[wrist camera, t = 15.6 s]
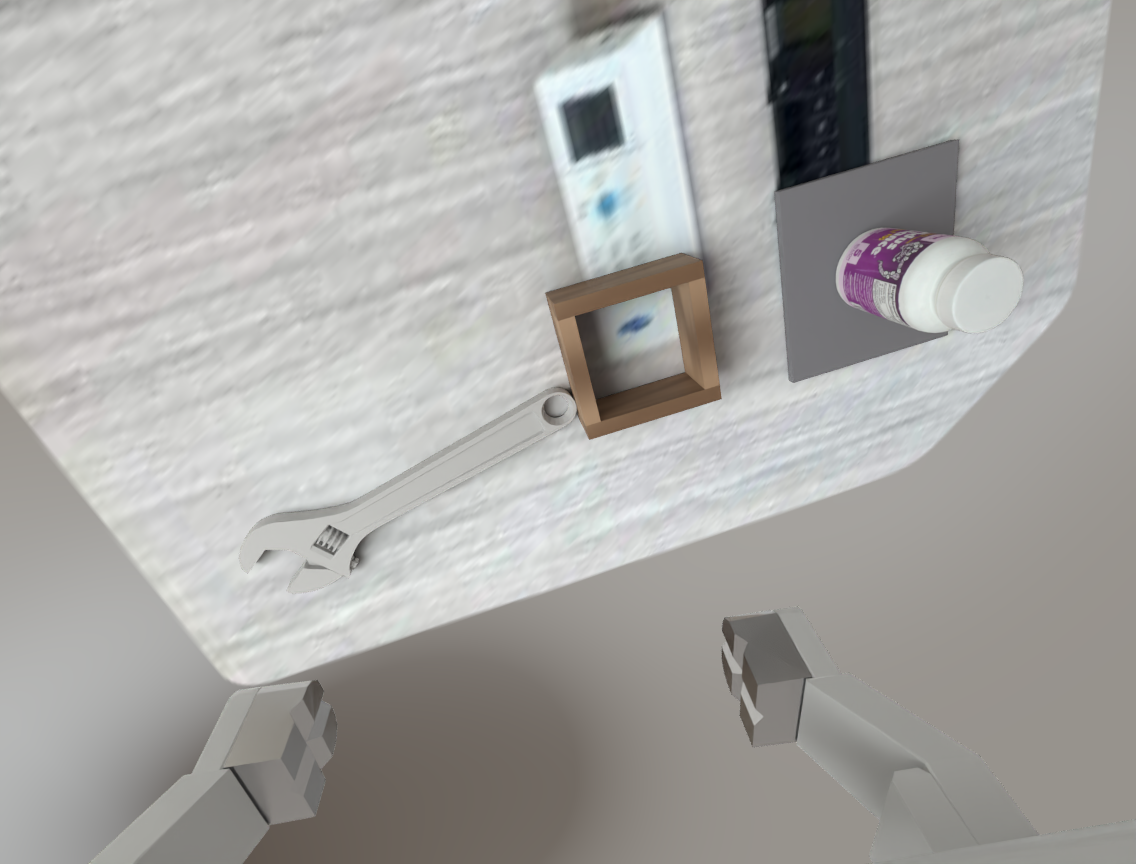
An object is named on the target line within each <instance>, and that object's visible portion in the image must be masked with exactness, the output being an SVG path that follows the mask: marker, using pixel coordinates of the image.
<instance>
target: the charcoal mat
mask: <svg viewBox="0 0 1136 864" xmlns="http://www.w3.org/2000/svg"><path fill="white" fill-rule="evenodd" d="M958 148H959V140H950V141H947V142H943V143H940V144H936V145H933V146H930V147H926V148H923V149H919V150H916V151H912V152H909V153H906V154H902V155H899V156H895V157H892V158H888V159H885V160H882V161H878V162H875V163H871V164H868V165H864V166H861V167H858V168H854V169H851V170H847V171H844V172H840V173H837V174H834V175H830V176H827V177H823V178H820V179H816V180H813V181H810V182H806V183H803V184H799V185H796V186H792V187H789V188H786V189H782V190H779V191H775V205H776V218H777V231H778V244H779V257H780V270H781V283H782V296H783V308H784V321H785V334H786V347H787V360H788V373H789V380H790V381H791V382H793V383H795V382H798V381H801V380H804V379H808V378H811V377H814V376H817V375H820V374H824V373H827V372H830V371H833V370H837V369H840V368H843V367H846V366H849V365H853V364H856V363H859V362H862V361H866V360H869V359H872V358H875V357H878V356H882V355H885V354H888V353H891V352H895V351H898V350H901V349H904V348H907V347H911V346H914V345H917V344H920V343H924V342H927V341H930V340H933V339H936V338H940V337H943V336H946V335H948V331H946V332H940V333H928V332H923V331H918V330H916V329H913V328H910V327H907V326H905V325H902V324H899V323H896V322H893V321H890V320H888V319H885V318H882V317H879V316H876V315H874V314H871V313H868V312H865V311H862V310H860V309H857V308H854V307H852V306H850V305H848V304H847V303H846V302H845V301H844V300H843V299H842V298H841V296H840V295H839V293H838V290H837V287H836V270H837V266H838V262H839V260H840V258H841V256H842V254H843V252H844V251H845V249H846V248H847V247H848V245H849V244H850V243H851V242H852V241H853V240H854V239H855V238H857V237H858V236H859V235H861V234H862V233H865V232H867V231H869V230H872V229H876V228H894V229H902V230H913V231H920V232H928V233H936V234H945V235H952V236H953V234H954V217H955V200H956V182H957V165H958Z"/></svg>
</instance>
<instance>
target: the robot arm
mask: <svg viewBox="0 0 1136 864" xmlns="http://www.w3.org/2000/svg"><path fill="white" fill-rule="evenodd" d="M722 624H723V625H722V632H723V634H724V637H725V639H726V642H725V643H724V644H723V645H722V664H723V670H724V674H725V678H726V681H727V684H728V687H729V689H730V692H731V695H733V696H734V697H735V698H737V699H738V700H739V701H740V718H741V720H742V722H743V725H744V727H745V730H746V732H747V735H748V737H749V740H750V742H751V745H752V747H759V746H768V745H775V744H783V743H791V742H797V745H798V746H799V747H800V748H801V749H802V750H803V751H804V752H806V753H807V754H808V755H809V756H810V757H811V758H812V759H813V760H814V761H815V762H816V763H817V764H818V765H820V766H821V767H822V768H823V769H824V770H825V771H826V772H827V773H828V774H829V775H830V776H832V777H833V778H834V779H835V780H836V781H837V782H838V783H839V784H840V785H841V786H843V787H844V788H845V789H846V790H847V791H848V792H849V793H850V794H851V795H852V796H853V797H854V798H856V799H857V800H858V801H859V802H860V803H861V804H862V805H863V806H864V807H865V808H866V809H868V810H869V811H870V812H871V813H872V814H873V815H874V816H875V817H876V818H877V819H879V820H880V822H879V825H878V828H877V831H876V835H875V838H874V842H873V845H872V848H871V851H870V855H869V857H870V859H871V861H872V863H869V864H1136V819H1135V820H1128V821H1122V822H1116V823H1110V824H1104V825H1098V826H1092V827H1086V828H1080V829H1073V830H1067V831H1061V832H1055V833H1049V834H1043V835H1039V833H1038V832H1037V831H1036V829H1035V828H1034V827H1033V825H1032V824H1031V823H1030V821H1029V820H1028V819H1027V817H1026V816H1025V815H1024V813H1023V812H1022V811H1021V810H1020V808H1019V807H1018V806H1017V804H1016V803H1015V801H1014V800H1013V799H1012V797H1011V796H1010V795H1009V793H1008V792H1007V791H1006V790H1005V788H1004V787H1003V786H1002V784H1001V783H1000V782H999V780H998V779H997V778H996V776H995V775H994V774H993V772H992V771H991V770H990V768H989V767H988V766H987V764H986V763H985V762H984V760H983V759H982V758H981V756H980V755H978V754H976V753H975V752H973V751H972V750H970V749H969V748H967V747H965V746H964V745H962V744H961V743H959V742H958V741H956V740H954V739H953V738H951V737H950V736H948V735H947V734H945V733H943V732H942V731H940V730H939V729H937V728H935V727H934V726H933V725H931V724H929V723H928V722H926V721H925V720H923V719H921V718H920V717H918V716H917V715H915V714H913V713H912V712H910V711H909V710H907V709H906V708H904V707H903V706H901V705H899V704H898V703H896V702H895V701H893V700H892V699H890V698H888V697H887V696H885V695H884V694H882V693H881V692H879V691H877V690H876V689H874V688H873V687H871V686H870V685H868V684H867V683H865V682H863V681H862V680H860V679H859V678H857V677H856V676H854V675H852V674H851V673H841V671H840V670H839V668H838V666H837V665H836V664H835V662H834V660H833V658H832V657H831V655H830V654H829V652H828V650H827V649H826V647H825V646H824V644H823V643H822V641H821V639H820V638H819V636H818V634H817V633H816V632H815V630H814V628H813V626H812V625H811V623H810V621H809V620H808V618H807V617H806V615H805V614H804V612H803V610H802V609H800V608H799V607H798V606H797V607H790V608H784V609H777V610H773V611H771V610H768V611H762V612H756V613H750V614H743V615H738V616H732V617H725V618H724V620H723V623H722ZM323 693H324V690H323V688H322V686H321V684H320V683H319V681H318V680H312V681H305V682H296V683H288V684H281V685H272V686H264V687H258V688H250V689H243V690H237V691H236V692H235V693H234V694H233V695H232V696H231V697H230V698H229V700H228V702H227V704H226V706H225V708H224V710H223V712H222V714H221V716H220V718H219V720H218V722H217V724H216V726H215V728H214V730H213V732H212V734H211V736H210V738H209V740H208V742H207V744H206V746H205V748H204V750H203V752H202V754H201V756H200V758H199V760H198V762H197V764H196V766H195V768H194V770H193V772H192V774H189V775H184V776H182V778H180V779H179V780H178V781H177V782H176V783H175V784H174V785H173V786H172V787H171V788H169V789H168V790H167V791H166V792H165V793H164V794H163V795H162V796H161V797H160V798H159V799H158V800H156V801H155V802H154V803H153V804H152V805H151V806H150V807H149V808H148V809H147V810H146V811H145V812H144V813H142V814H141V815H140V816H139V817H138V818H137V819H136V820H135V821H134V822H133V823H132V824H131V825H130V826H128V827H127V828H126V829H125V830H124V831H123V832H122V833H121V834H120V835H119V836H118V837H117V838H115V839H114V840H113V841H112V842H111V843H110V844H109V845H108V846H107V847H106V848H105V849H103V850H102V851H101V852H100V853H99V854H98V855H97V856H96V857H95V858H94V859H93V860H92V861H90V862H89V863H88V864H243V862H244V861H245V860H246V858H247V857H248V856H249V854H250V853H251V851H252V850H253V849H254V848H255V847H256V845H257V844H258V843H259V841H260V840H261V838H262V837H263V836H264V834H265V833H266V832H267V831H268V829H269V826H268V825H272V824H278V823H283V822H288V821H293V820H299V819H304V818H310V817H315V815H316V812H317V809H318V805H319V802H320V798H321V795H322V791H323V788H324V784H325V780H326V779H325V777H324V775H323V773H322V771H321V769H322V767H323V766H324V765H325V764H326V763H327V762H328V761H329V760H330V758H331V757H332V756H333V752H334V748H335V744H336V737H337V721H336V716H335V713H334V710H333V708H332V706H331V705H329V704H327V703H325V702H324V701H322V696H323Z"/></svg>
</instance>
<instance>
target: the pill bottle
mask: <svg viewBox="0 0 1136 864" xmlns="http://www.w3.org/2000/svg"><path fill="white" fill-rule="evenodd" d="M836 287H837V290H838V293H839V295H840V296H841V298H842V299H843V300H844V301H845V302H846V303H847V304H848V305H850V306H852V307H854V308H857V309H860V310H862V311H865V312H868V313H871V314H874V315H876V316H879V317H882V318H885V319H888V320H890V321H893V322H896V323H899V324H902V325H905V326H907V327H910V328H913V329H916V330H918V331H923V332H928V333H940V332H946V331H949V330H952V329H955V330H959V331H963V332H967V333H973V334H977V333H983V332H986V331H989V330H991V329H993V328H995V327H997V326H998V325H999V324H1001V323H1002V322H1003V321H1004V320H1005V319H1006V318H1007V317H1008V316H1009V315H1010V314H1011V313H1012V311H1013V310H1014V308H1015V307H1016V305H1017V304H1018V302H1019V299H1020V297H1021V294H1022V290H1023V274H1022V270H1021V269H1020V267H1019V265H1018V264H1017V263H1016V262H1015V261H1013V260H1012V259H1009V258H1006V257H1002V256H997V255H992V254H990V253H989V251H988V250H987V249H986V248H985V247H984V246H983V245H982V244H981V243H979V242H977V241H975V240H973V239H970V238H966V237H960V236H952V235H945V234H936V233H928V232H920V231H913V230H902V229H894V228H876V229H872V230H869V231H867V232H865V233H862V234H861V235H859V236H858V237H857V238H855V239H854V240H853V241H852V242H851V243H850V244H849V245H848V247H847V248H846V249H845V251H844V252H843V254H842V256H841V258H840V260H839V262H838V266H837V270H836Z"/></svg>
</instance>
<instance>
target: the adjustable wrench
mask: <svg viewBox="0 0 1136 864" xmlns="http://www.w3.org/2000/svg"><path fill="white" fill-rule="evenodd" d="M554 395H559V396H562V397H564V398H565V399H566V400H567V403H568V409H567V411H566V413H565V414H564V415H562V416H560V417H558V418H553V417H550V416H548V415H547V414H546V413H545V410H544V404H545V402H546V400H547V399H548V398H550V397H552V396H554ZM576 412H577V406H576V403H575V401H574V399H573V397H572V395H571V394H570V393H569V392H568V391H567V390H565V389H563V388H559V387H554V388H550V389H547V390H545V391H543V392H542V393H540V394H538V395H537V396H535V397H533V398H531V399H530V400H528V401H526V402H524V403H523V404H521V405H519V406H518V407H516V408H514V409H512V410H511V411H509V412H507V413H505V414H504V415H502V416H500V417H499V418H497V419H495V420H493V421H492V422H490V423H488V424H486V425H485V426H483V427H481V428H479V429H478V430H476V431H474V432H473V433H471V434H469V435H467V436H466V437H464V438H462V439H460V440H459V441H457V442H455V443H454V444H452V445H450V446H448V447H447V448H445V449H443V450H441V451H440V452H438V453H436V454H435V455H433V456H431V457H429V458H428V459H426V460H424V461H422V462H421V463H419V464H417V465H416V466H414V467H412V468H410V469H409V470H407V471H405V472H403V473H402V474H400V475H398V476H397V477H395V478H393V479H391V480H390V481H388V482H386V483H384V484H383V485H381V486H379V487H378V488H376V489H374V490H372V491H371V492H369V493H367V494H365V495H364V496H362V497H360V498H358V499H356V500H354V501H352V502H350V503H346V504H343V505H339V506H335V507H329V508H324V509H318V510H310V511H300V512H287V513H278V514H274V515H270V516H268V517H266V518H263V519H261V520H260V521H259V522H257V523H256V524H255V525H254V526H253V527H252V529H251V530H250V531H249V533H248V535H247V536H246V538H245V540H244V542H243V544H242V546H241V549H240V554H239V561H240V565H241V569H242V570H243V571H244V572H246V573H247V574H248V573H249V571H250V570H251V569H252V567H253V566H254V564H255V563H256V562H257V560H258V559H259V558H260V556H261V555H262V554H263V552H264V551H265V550H290V551H292V552H294V553H296V554H298V555H300V556H302V557H304V558H306V561H305V562H304V563H303V565H302V566H301V567H300V569H299V570H298V571H297V573H296V574H295V575H294V577H293V578H292V579H291V581H290V583H289V586H288V588H287V591H288V592H290V593H292V594H299V593H306V592H311V591H315V590H318V589H321V588H324V587H326V586H328V585H330V584H331V583H333V582H335V581H336V580H338V579H339V578H341V577H342V576H345V577H347V578H349V577H350V575H351V571H352V569H354V568H355V567H356V565H357V564H358V562H359V559H358V558H357V557H355V556H353V553H354V551H355V549H356V547H357V545H358V544H359V542H360V541H361V540H362V539H363V538H364V537H365V536H366V535H367V534H369V533H370V532H372V531H373V530H375V529H376V528H378V527H380V526H382V525H383V524H385V523H387V522H389V521H391V520H393V519H395V518H396V517H398V516H400V515H402V514H404V513H406V512H408V511H409V510H411V509H413V508H415V507H417V506H419V505H420V504H422V503H424V502H426V501H428V500H430V499H432V498H433V497H435V496H437V495H439V494H441V493H443V492H445V491H446V490H448V489H450V488H452V487H454V486H456V485H457V484H459V483H461V482H463V481H465V480H467V479H469V478H470V477H472V476H474V475H476V474H478V473H480V472H482V471H483V470H485V469H487V468H489V467H491V466H493V465H494V464H496V463H498V462H500V461H502V460H504V459H506V458H507V457H509V456H511V455H513V454H515V453H517V452H519V451H520V450H522V449H524V448H526V447H528V446H530V445H532V444H533V443H535V442H537V441H539V440H541V439H543V438H544V437H546V436H548V435H550V434H552V433H554V432H556V431H557V430H559V429H561V428H563V427H565V426H567V425H568V424H569V423H571V422H572V420H573V419H574V417H575V415H576Z"/></svg>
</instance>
